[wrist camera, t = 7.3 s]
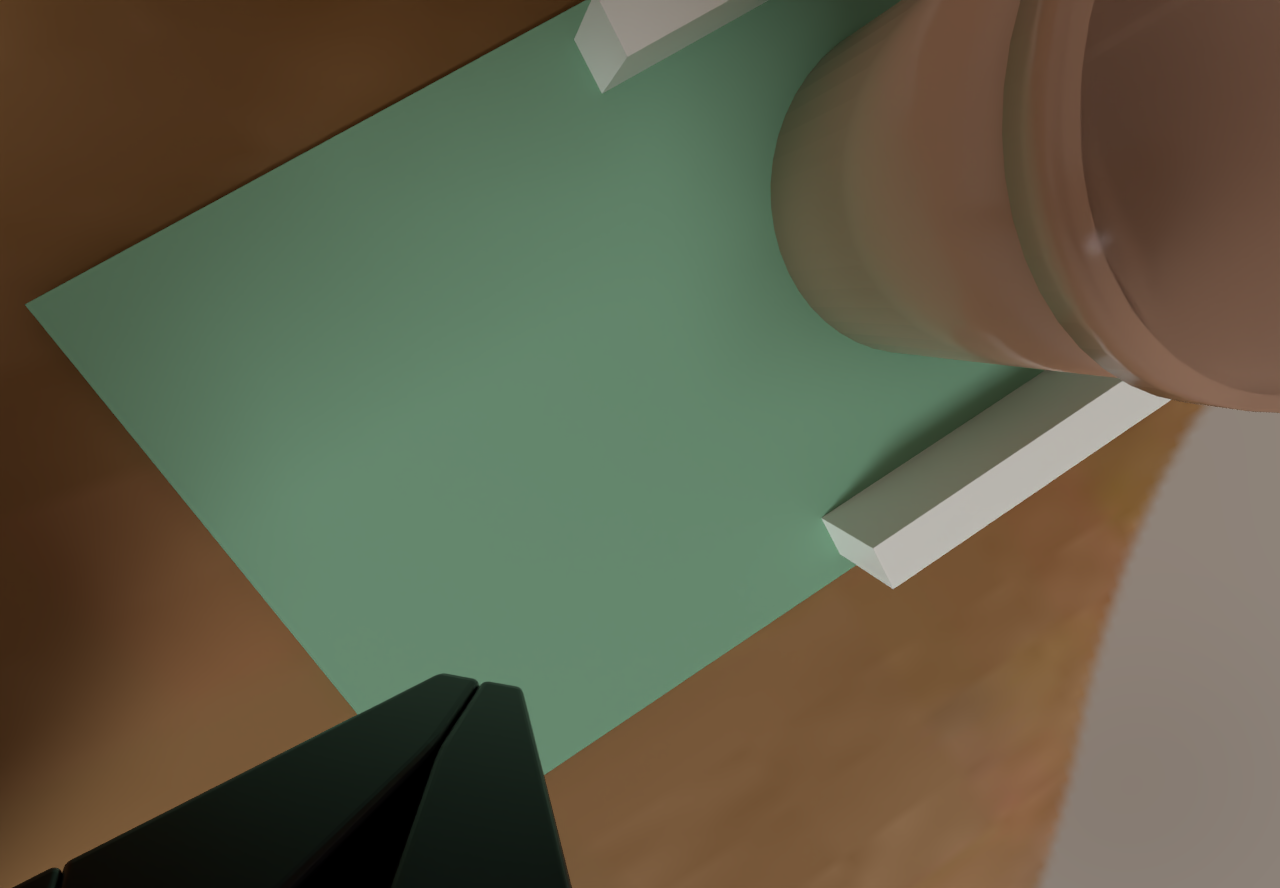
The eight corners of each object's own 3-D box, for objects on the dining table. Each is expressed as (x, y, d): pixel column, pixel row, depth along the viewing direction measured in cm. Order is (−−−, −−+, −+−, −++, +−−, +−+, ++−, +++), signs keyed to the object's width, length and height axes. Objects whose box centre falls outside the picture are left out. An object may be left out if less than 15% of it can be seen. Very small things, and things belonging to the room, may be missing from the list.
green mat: (455, 823, 19) (455, 834, 18) (35, 304, 15) (24, 304, 14) (1200, 324, 21) (1213, 324, 21) (1027, -235, 17) (1040, -247, 17)
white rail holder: (839, 553, 19) (893, 588, 17) (574, 39, 16) (594, -9, 13) (1189, 320, 21) (1284, 322, 18) (1024, -208, 17) (1117, -292, 15)
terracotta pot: (718, 314, 17) (971, 324, 9) (820, -58, 16) (1215, -450, 8) (1004, 396, 20) (1422, 468, 11) (1108, 76, 19) (1657, -116, 10)
